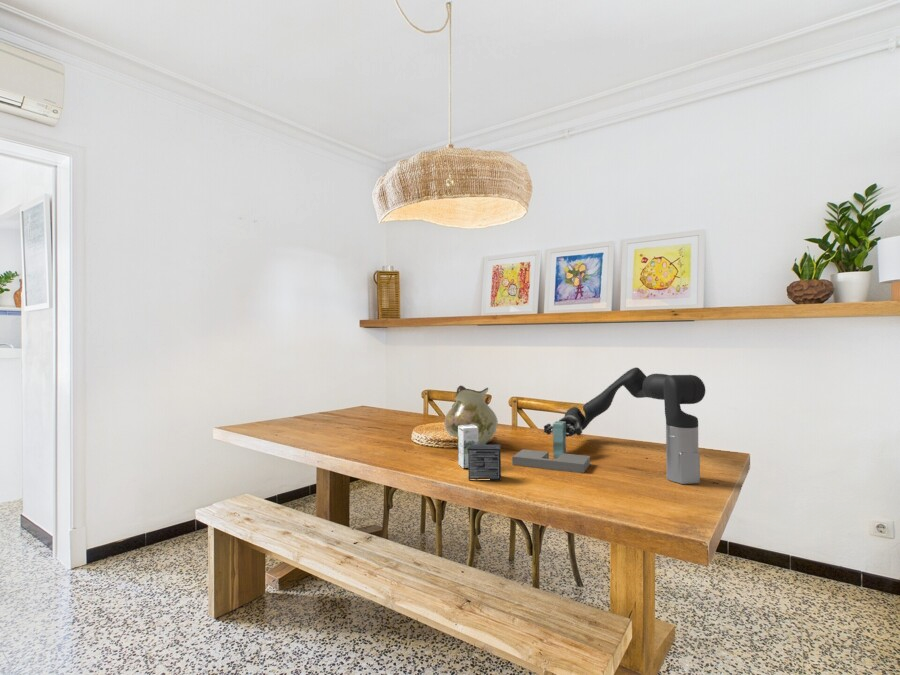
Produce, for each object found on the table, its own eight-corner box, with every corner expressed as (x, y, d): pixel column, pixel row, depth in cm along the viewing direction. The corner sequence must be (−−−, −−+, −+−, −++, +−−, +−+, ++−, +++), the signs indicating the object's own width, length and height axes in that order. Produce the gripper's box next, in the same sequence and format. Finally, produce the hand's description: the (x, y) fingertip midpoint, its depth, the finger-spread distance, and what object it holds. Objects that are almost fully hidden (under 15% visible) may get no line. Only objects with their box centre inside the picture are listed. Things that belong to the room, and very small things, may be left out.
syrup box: (472, 463, 173) (472, 423, 173) (478, 468, 167) (478, 426, 167) (457, 465, 171) (457, 424, 171) (463, 469, 165) (463, 427, 165)
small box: (501, 475, 158) (500, 443, 158) (501, 481, 152) (501, 448, 152) (469, 474, 159) (469, 443, 159) (468, 480, 153) (467, 448, 153)
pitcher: (482, 454, 186) (481, 390, 187) (432, 447, 199) (431, 387, 199) (506, 443, 206) (505, 385, 206) (459, 438, 218) (458, 383, 218)
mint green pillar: (562, 459, 178) (562, 424, 178) (553, 458, 180) (553, 423, 180) (565, 455, 184) (565, 421, 184) (556, 454, 185) (556, 421, 185)
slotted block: (583, 473, 160) (583, 464, 160) (512, 464, 171) (512, 456, 171) (590, 464, 170) (590, 456, 170) (522, 457, 181) (522, 449, 181)
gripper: (586, 436, 192) (577, 444, 178) (551, 433, 199) (540, 441, 184) (585, 417, 192) (577, 424, 178) (550, 415, 199) (540, 421, 184)
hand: (558, 432), depth 181 cm, fingers open, 8 cm apart
